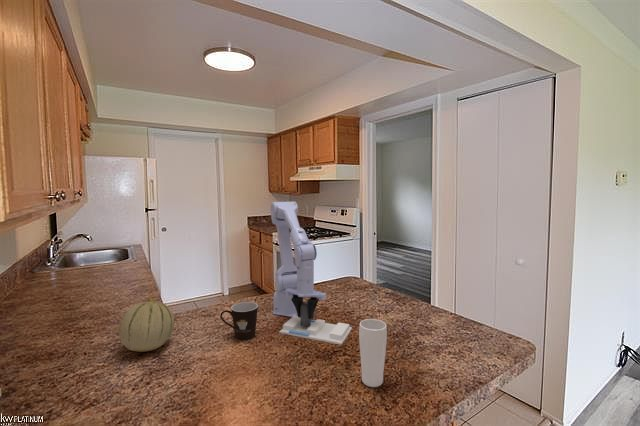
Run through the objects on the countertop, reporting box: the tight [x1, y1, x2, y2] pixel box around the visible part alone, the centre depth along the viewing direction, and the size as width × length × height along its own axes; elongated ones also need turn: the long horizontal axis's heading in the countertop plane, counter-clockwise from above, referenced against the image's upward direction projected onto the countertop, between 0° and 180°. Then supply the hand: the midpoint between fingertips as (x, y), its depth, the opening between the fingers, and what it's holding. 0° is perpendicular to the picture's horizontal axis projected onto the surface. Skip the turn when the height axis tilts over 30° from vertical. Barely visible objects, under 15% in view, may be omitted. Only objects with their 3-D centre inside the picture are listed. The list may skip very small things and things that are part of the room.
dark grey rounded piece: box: [300, 301, 317, 327], centre depth 111 cm, size 4×10×8 cm, turn 158°
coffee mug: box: [219, 301, 259, 342], centre depth 104 cm, size 12×9×10 cm
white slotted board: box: [279, 315, 353, 345], centre depth 107 cm, size 22×12×2 cm, turn 68°
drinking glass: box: [358, 318, 388, 388], centre depth 78 cm, size 7×7×15 cm
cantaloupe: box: [118, 297, 175, 353], centre depth 95 cm, size 15×15×15 cm
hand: (305, 317), depth 108 cm, fingers closed on dark grey rounded piece, 4 cm apart
